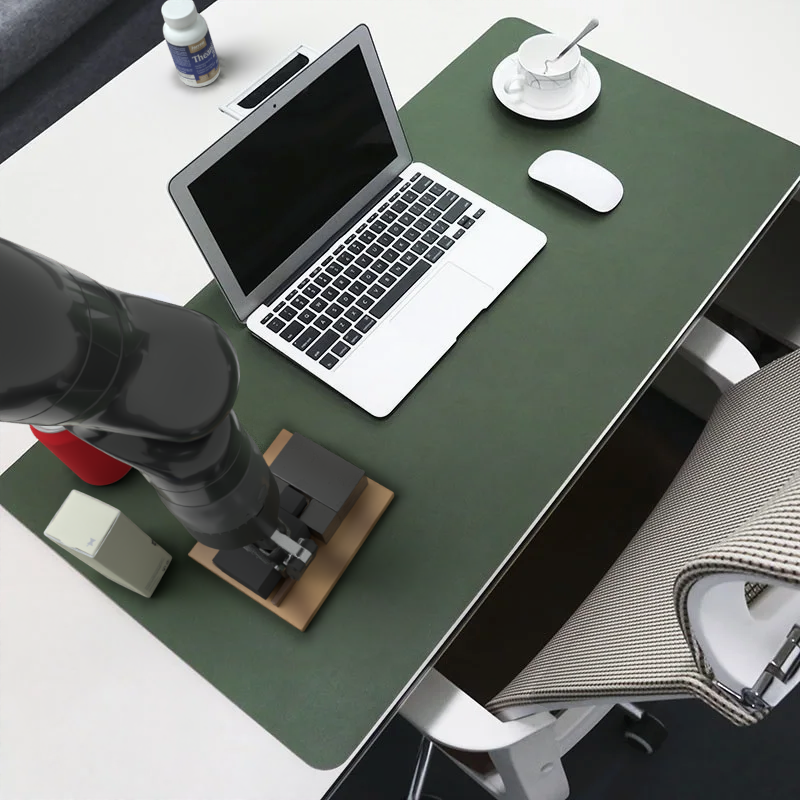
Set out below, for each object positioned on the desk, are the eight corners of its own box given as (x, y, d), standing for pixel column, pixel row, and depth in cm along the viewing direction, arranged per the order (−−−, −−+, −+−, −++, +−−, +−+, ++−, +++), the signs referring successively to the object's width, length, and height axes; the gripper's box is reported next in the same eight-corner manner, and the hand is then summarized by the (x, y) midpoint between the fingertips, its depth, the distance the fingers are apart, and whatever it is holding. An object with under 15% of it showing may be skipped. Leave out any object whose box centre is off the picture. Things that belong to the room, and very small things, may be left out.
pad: (265, 600, 74) (257, 590, 70) (221, 571, 75) (211, 560, 72) (324, 517, 77) (318, 504, 74) (280, 490, 78) (273, 476, 75)
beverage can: (118, 419, 85) (69, 360, 74) (151, 461, 82) (105, 406, 72) (65, 456, 83) (7, 402, 73) (96, 501, 81) (41, 451, 70)
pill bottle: (207, 93, 105) (184, 27, 97) (171, 82, 107) (146, 16, 98) (229, 65, 108) (209, -2, 99) (194, 54, 109) (171, -13, 100)
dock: (303, 632, 74) (295, 622, 70) (190, 557, 78) (177, 544, 74) (394, 496, 79) (391, 480, 76) (284, 432, 83) (277, 414, 79)
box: (175, 557, 78) (126, 510, 66) (149, 600, 76) (94, 560, 65) (128, 535, 79) (71, 486, 68) (102, 577, 77) (40, 534, 66)
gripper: (108, 475, 61) (178, 545, 76) (264, 577, 57) (306, 630, 72) (173, 396, 63) (228, 479, 78) (327, 488, 59) (354, 557, 74)
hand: (265, 551), depth 75 cm, fingers closed on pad, 5 cm apart
